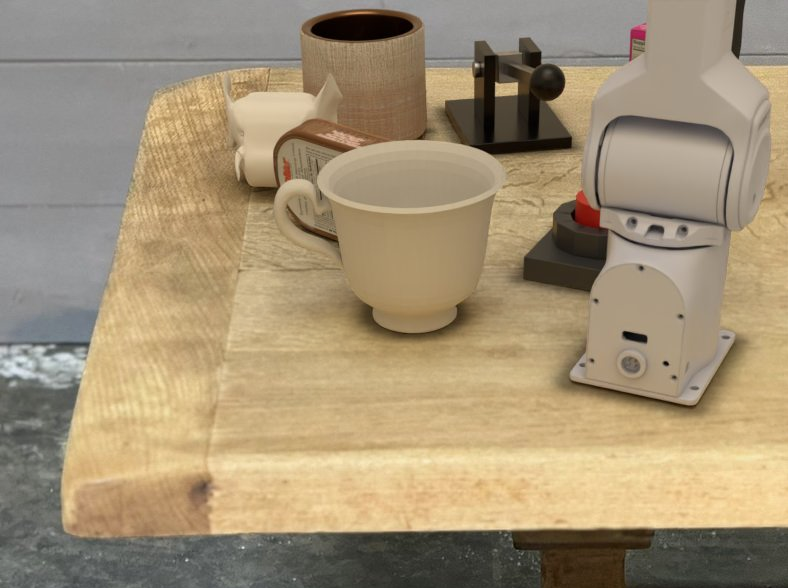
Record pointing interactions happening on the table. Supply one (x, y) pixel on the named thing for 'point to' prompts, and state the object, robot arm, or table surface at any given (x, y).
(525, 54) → the bracket
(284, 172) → the tin
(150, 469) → the table surface
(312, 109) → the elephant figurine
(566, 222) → the button box
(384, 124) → the planter
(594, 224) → the button
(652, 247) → the robot arm
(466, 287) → the teacup
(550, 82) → the lever
